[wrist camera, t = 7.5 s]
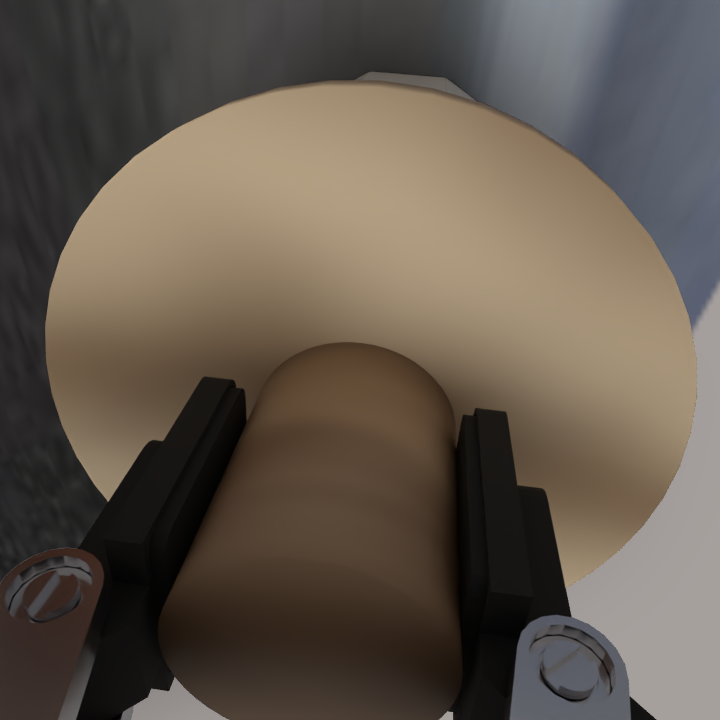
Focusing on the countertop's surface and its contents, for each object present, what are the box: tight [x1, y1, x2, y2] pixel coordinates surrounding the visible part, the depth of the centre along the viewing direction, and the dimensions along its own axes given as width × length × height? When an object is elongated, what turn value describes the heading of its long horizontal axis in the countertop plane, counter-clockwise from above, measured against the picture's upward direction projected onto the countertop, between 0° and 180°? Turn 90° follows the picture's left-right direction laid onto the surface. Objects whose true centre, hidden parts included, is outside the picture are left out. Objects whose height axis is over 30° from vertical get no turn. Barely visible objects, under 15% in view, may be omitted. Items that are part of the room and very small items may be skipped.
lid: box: [45, 80, 697, 720], centre depth 10 cm, size 13×13×6 cm
